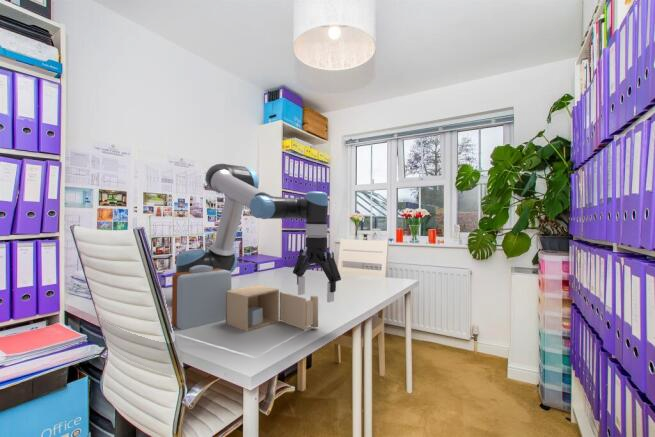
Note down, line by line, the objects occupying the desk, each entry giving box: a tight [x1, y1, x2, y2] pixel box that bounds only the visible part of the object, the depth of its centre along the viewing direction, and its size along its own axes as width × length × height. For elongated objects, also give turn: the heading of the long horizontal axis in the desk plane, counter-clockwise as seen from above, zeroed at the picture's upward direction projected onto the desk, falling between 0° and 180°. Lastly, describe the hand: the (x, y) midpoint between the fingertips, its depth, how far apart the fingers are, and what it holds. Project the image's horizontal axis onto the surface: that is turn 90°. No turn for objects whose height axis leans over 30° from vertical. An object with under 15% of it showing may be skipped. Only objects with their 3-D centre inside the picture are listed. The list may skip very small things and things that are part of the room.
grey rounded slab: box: [171, 265, 232, 331], centre depth 113 cm, size 18×9×21 cm, turn 134°
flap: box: [279, 291, 319, 330], centre depth 110 cm, size 6×15×10 cm, turn 45°
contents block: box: [248, 306, 263, 326], centre depth 111 cm, size 5×5×5 cm
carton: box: [225, 284, 280, 332], centre depth 112 cm, size 12×14×12 cm
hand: (315, 297), depth 108 cm, fingers open, 13 cm apart
